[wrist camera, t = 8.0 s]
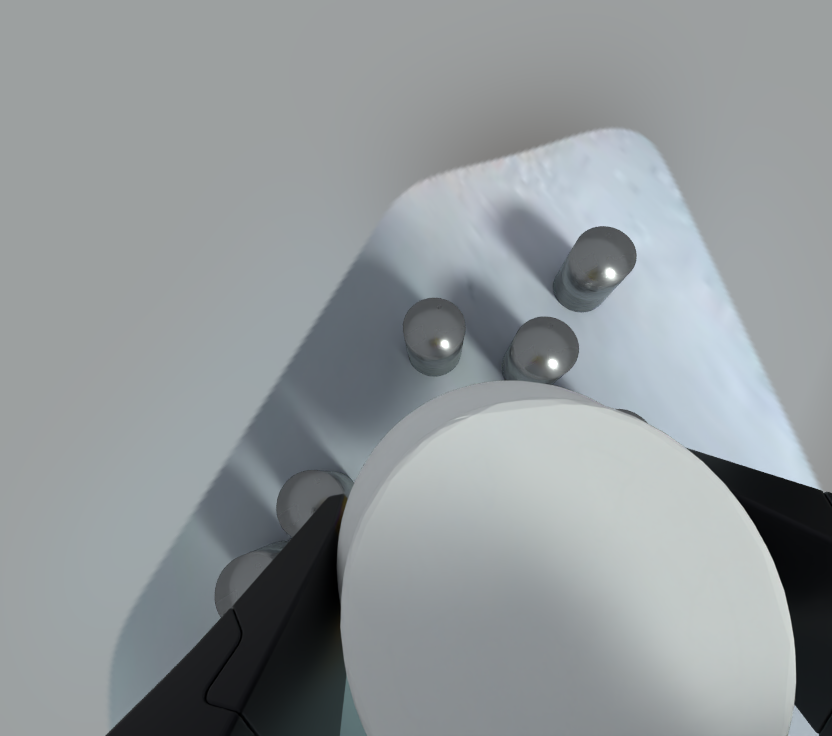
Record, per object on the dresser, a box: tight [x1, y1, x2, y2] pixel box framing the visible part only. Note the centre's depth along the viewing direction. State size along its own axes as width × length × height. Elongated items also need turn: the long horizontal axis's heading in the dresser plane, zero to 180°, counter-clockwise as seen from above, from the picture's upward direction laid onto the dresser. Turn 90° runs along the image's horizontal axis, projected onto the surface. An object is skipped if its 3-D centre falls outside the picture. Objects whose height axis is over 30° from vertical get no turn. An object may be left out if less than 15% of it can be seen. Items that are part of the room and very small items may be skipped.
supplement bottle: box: [337, 381, 796, 736], centre depth 11 cm, size 7×7×13 cm
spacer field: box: [215, 226, 647, 617], centre depth 22 cm, size 15×22×4 cm
